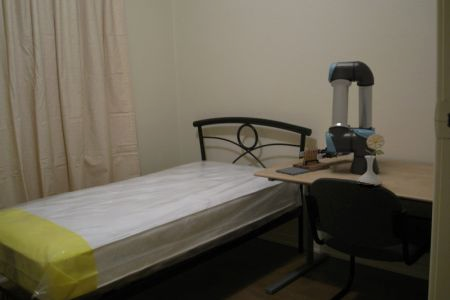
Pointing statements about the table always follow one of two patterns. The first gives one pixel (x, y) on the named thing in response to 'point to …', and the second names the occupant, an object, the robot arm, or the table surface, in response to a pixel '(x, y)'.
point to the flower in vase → (375, 143)
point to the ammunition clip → (310, 157)
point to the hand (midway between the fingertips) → (308, 155)
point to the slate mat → (292, 171)
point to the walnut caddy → (312, 166)
